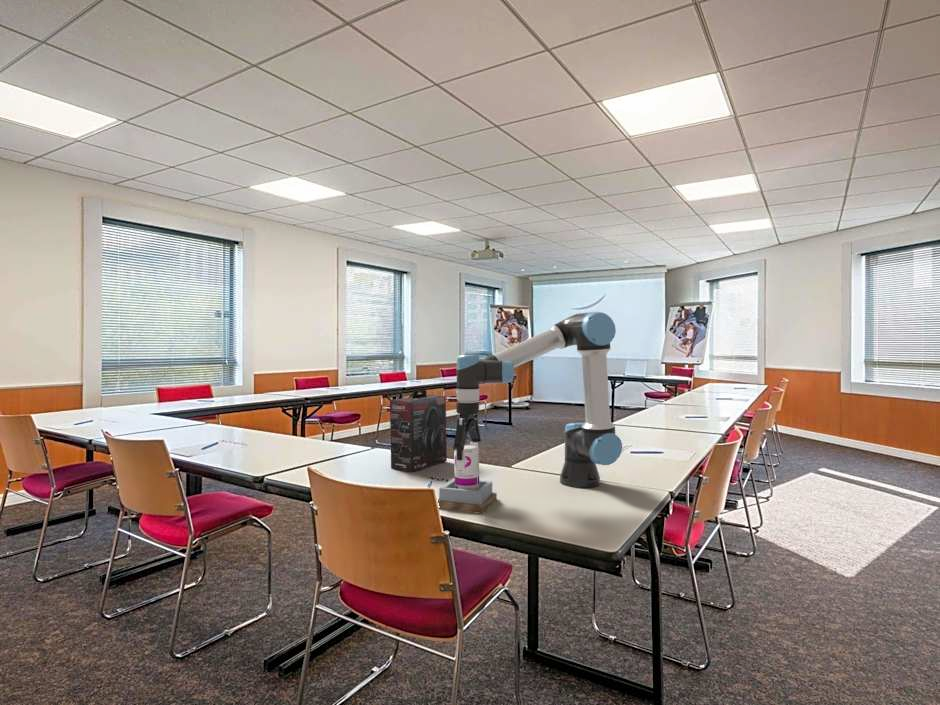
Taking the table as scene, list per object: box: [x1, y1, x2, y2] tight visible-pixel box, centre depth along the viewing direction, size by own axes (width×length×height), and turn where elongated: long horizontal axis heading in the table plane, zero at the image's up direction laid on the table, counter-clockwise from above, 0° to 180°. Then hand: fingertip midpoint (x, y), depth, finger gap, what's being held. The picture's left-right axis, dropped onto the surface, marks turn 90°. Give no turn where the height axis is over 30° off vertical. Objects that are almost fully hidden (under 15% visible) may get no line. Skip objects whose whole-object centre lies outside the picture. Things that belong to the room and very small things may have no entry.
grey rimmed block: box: [438, 477, 493, 505], centre depth 174 cm, size 14×14×4 cm
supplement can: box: [453, 444, 480, 491], centre depth 174 cm, size 8×8×15 cm
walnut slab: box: [437, 491, 498, 514], centre depth 174 cm, size 16×16×3 cm
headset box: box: [389, 388, 448, 473], centre depth 229 cm, size 24×13×33 cm, turn 145°
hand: (467, 465), depth 174 cm, fingers open, 13 cm apart
